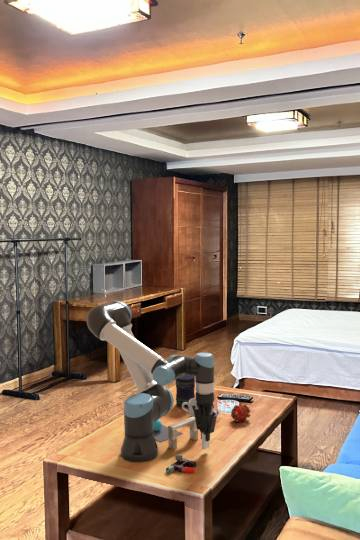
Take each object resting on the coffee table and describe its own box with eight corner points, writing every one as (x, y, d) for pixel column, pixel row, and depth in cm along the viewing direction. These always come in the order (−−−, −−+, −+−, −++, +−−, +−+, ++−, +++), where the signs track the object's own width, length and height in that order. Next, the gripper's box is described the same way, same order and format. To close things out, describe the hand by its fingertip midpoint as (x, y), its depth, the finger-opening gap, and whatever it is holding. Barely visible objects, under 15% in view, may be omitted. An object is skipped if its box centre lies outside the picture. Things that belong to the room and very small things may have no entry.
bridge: (198, 438, 232) (197, 418, 231) (173, 449, 222) (173, 427, 222) (193, 436, 234) (192, 416, 234) (168, 447, 225) (168, 425, 224)
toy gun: (163, 473, 202) (162, 461, 202) (183, 462, 211) (182, 450, 211) (183, 481, 196) (182, 468, 196) (202, 469, 205) (202, 457, 205)
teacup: (211, 413, 262) (211, 397, 262) (210, 421, 252) (210, 405, 251) (183, 412, 264) (183, 396, 263) (181, 421, 253) (180, 404, 252)
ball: (153, 435, 239) (156, 426, 237) (146, 426, 242) (149, 418, 240) (162, 432, 243) (166, 423, 240) (155, 423, 246) (159, 414, 243)
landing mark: (160, 442, 229) (160, 441, 229) (141, 433, 239) (141, 433, 239) (182, 433, 238) (182, 433, 238) (163, 425, 248) (163, 425, 248)
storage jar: (177, 401, 280) (177, 373, 279) (196, 401, 279) (195, 373, 278) (174, 407, 271) (174, 379, 269) (194, 408, 269) (193, 379, 268)
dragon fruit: (248, 419, 257) (236, 431, 248) (235, 407, 261) (222, 418, 251) (257, 408, 253) (244, 420, 244) (243, 396, 256) (230, 407, 247)
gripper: (223, 393, 214) (223, 449, 217) (199, 385, 224) (200, 440, 226) (210, 397, 209) (210, 455, 212) (187, 390, 219) (187, 445, 221)
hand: (205, 447), depth 219 cm, fingers closed
